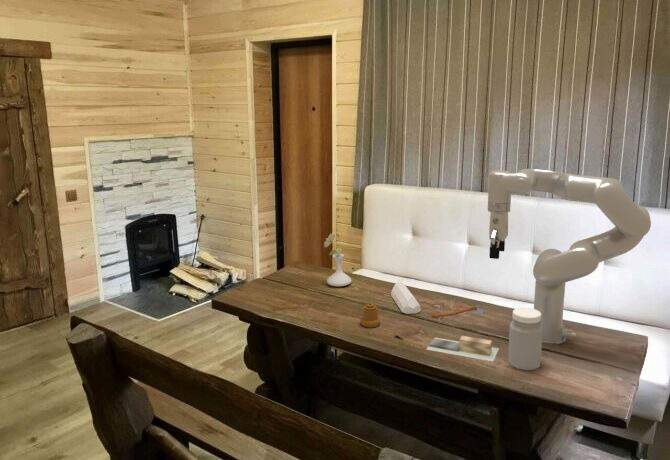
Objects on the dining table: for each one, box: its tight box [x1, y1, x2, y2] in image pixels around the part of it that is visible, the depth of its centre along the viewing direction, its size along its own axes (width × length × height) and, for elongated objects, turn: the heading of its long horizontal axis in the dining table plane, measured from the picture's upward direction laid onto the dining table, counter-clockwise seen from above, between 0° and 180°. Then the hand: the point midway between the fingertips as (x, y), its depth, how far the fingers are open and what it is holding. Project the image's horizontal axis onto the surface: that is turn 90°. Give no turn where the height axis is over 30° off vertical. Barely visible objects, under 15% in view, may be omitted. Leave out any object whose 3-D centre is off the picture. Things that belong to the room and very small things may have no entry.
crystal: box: [390, 280, 422, 315], centre depth 229 cm, size 7×7×24 cm
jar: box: [507, 306, 543, 371], centre depth 174 cm, size 10×10×18 cm
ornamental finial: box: [359, 303, 381, 329], centre depth 210 cm, size 8×8×8 cm
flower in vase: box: [323, 231, 352, 287], centre depth 251 cm, size 13×11×25 cm
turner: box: [428, 335, 493, 356], centre depth 186 cm, size 20×5×4 cm, turn 64°
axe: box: [430, 305, 489, 319], centre depth 217 cm, size 22×6×2 cm, turn 113°
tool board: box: [425, 337, 500, 362], centre depth 186 cm, size 22×10×1 cm, turn 63°
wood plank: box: [394, 325, 422, 340], centre depth 201 cm, size 15×2×5 cm
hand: (497, 254), depth 196 cm, fingers open, 9 cm apart
